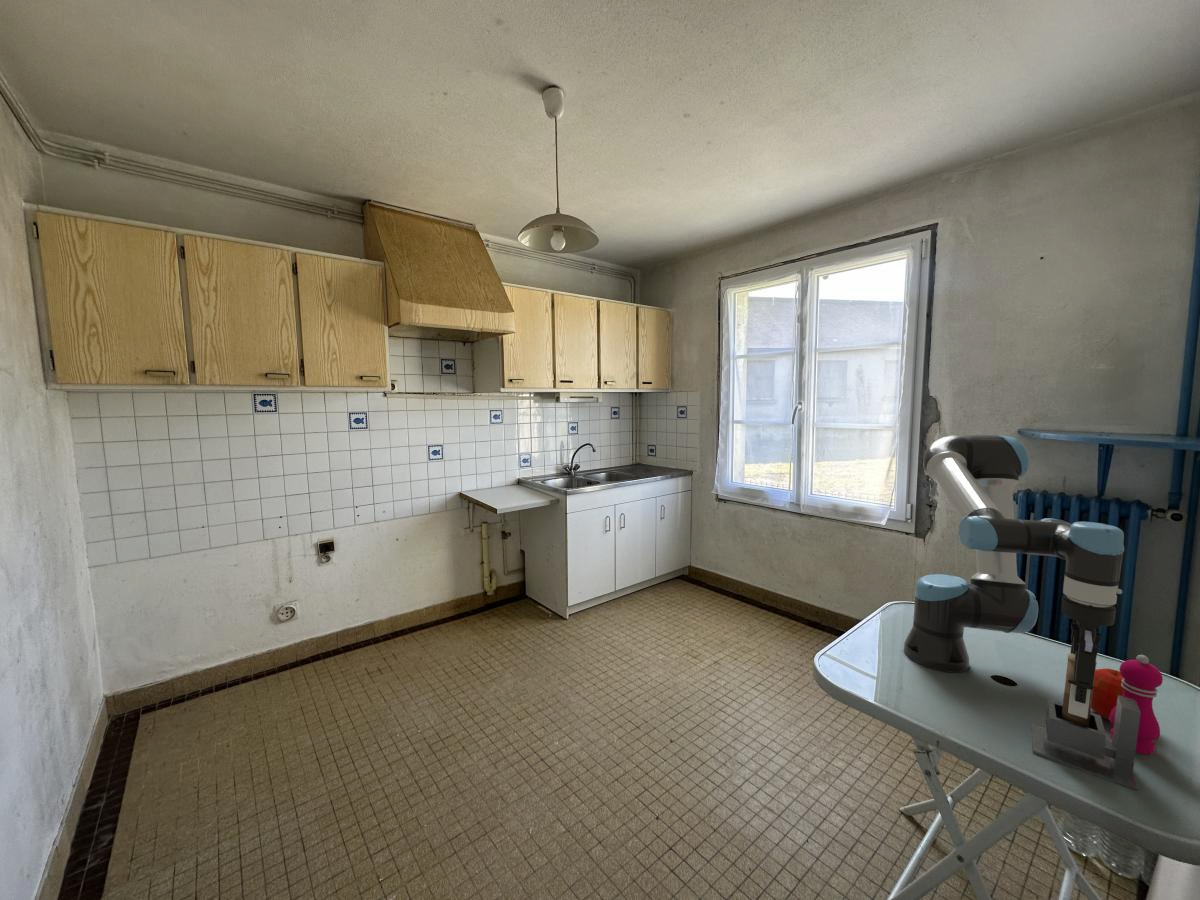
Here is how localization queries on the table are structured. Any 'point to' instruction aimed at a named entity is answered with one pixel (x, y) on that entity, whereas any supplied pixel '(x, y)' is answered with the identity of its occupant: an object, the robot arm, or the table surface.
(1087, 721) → the brown cylinder
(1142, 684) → the pepper mill
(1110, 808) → the table surface
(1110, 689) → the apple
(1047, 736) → the bracket
